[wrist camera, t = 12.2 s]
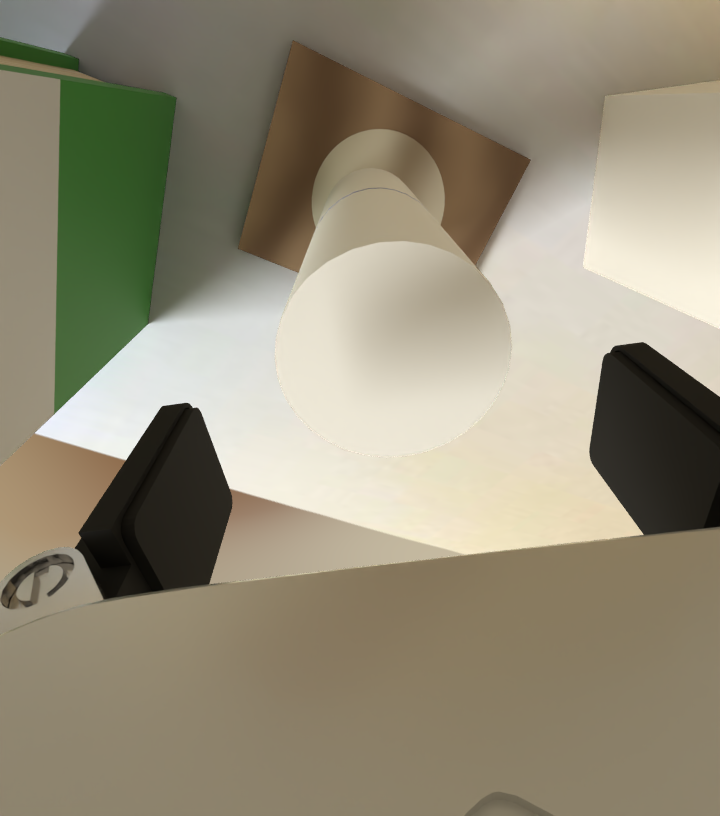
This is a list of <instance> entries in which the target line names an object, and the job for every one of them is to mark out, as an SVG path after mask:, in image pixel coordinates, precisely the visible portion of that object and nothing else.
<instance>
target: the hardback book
mask: <svg viewBox="0 0 720 816" xmlns="http://www.w3.org/2000/svg"><path fill="white" fill-rule="evenodd" d="M78 65H79V59H77V58H75V57H72V56H70V55H67V54H65V53H61V52H57V51H53V50H49V49H45V48H41V47H37V46H33V45H29V44H25V43H21V42H17V41H13V40H9V39H5V38H1V37H0V466H1V465H2V464H3V463H4V462H5V461H6V460H7V459H8V458H9V457H10V456H11V455H12V454H13V453H14V452H15V451H16V450H17V449H18V448H19V447H21V446H22V444H24V443H25V442H26V441H27V440H28V439H29V438H30V437H31V436H32V435H33V434H34V433H35V432H36V431H37V430H38V429H39V428H40V427H41V426H42V425H43V424H44V423H45V422H47V421H48V420H49V419H50V418H51V417H52V416H53V415H54V414H55V413H56V412H57V411H58V410H59V409H60V408H61V407H62V406H63V405H64V404H65V403H66V402H67V401H68V400H69V399H70V398H72V397H73V396H74V395H75V394H76V393H77V392H78V391H79V390H80V389H81V388H82V387H83V386H84V385H85V384H86V383H87V382H88V381H89V380H90V379H91V378H92V377H93V376H94V375H95V374H96V373H98V372H99V371H100V370H101V369H102V368H103V367H104V366H105V365H106V364H107V363H108V362H109V361H110V360H111V359H112V358H113V357H114V356H115V355H116V354H117V353H118V352H119V351H120V350H121V349H122V348H124V347H125V346H126V345H127V344H128V343H129V342H130V341H131V340H132V339H133V338H134V337H135V336H136V335H137V334H138V333H139V332H140V331H141V330H142V329H143V328H144V327H145V326H146V325H147V324H148V319H149V311H150V303H151V295H152V287H153V280H154V272H155V264H156V256H157V248H158V240H159V232H160V224H161V216H162V208H163V200H164V192H165V184H166V177H167V169H168V161H169V153H170V145H171V137H172V129H173V121H174V113H175V105H176V97H173V96H171V95H168V94H166V93H163V92H157V91H152V90H146V89H140V88H135V87H129V86H123V85H118V84H112V83H106V82H103V81H101V80H98V79H96V78H93V77H90V76H88V75H85V74H83V73H80V72H78Z"/></svg>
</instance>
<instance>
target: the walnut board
mask: <svg viewBox="0 0 720 816" xmlns="http://www.w3.org/2000/svg"><path fill="white" fill-rule="evenodd" d="M530 161H531V160H530V159H528V158H526V157H524V156H522V155H520V154H518V153H516V152H514V151H512V150H510V149H508V148H506V147H504V146H502V145H500V144H498V143H496V142H494V141H492V140H490V139H488V138H486V137H484V136H482V135H480V134H478V133H476V132H474V131H472V130H470V129H469V128H467V127H465V126H463V125H461V124H459V123H457V122H455V121H453V120H451V119H449V118H447V117H445V116H443V115H441V114H439V113H437V112H435V111H433V110H431V109H429V108H427V107H425V106H423V105H421V104H419V103H417V102H415V101H413V100H411V99H409V98H407V97H405V96H403V95H401V94H399V93H397V92H395V91H393V90H391V89H389V88H387V87H385V86H383V85H381V84H379V83H377V82H375V81H373V80H371V79H369V78H367V77H365V76H363V75H361V74H359V73H357V72H355V71H353V70H351V69H349V68H347V67H345V66H343V65H341V64H339V63H337V62H335V61H333V60H331V59H329V58H327V57H325V56H323V55H321V54H319V53H317V52H315V51H313V50H311V49H309V48H307V47H305V46H303V45H301V44H299V43H297V42H295V41H293V42H292V46H291V49H290V53H289V57H288V61H287V65H286V68H285V72H284V76H283V80H282V83H281V87H280V91H279V95H278V99H277V102H276V106H275V110H274V114H273V118H272V121H271V125H270V129H269V133H268V136H267V140H266V144H265V148H264V152H263V155H262V159H261V163H260V167H259V171H258V174H257V178H256V182H255V186H254V189H253V193H252V197H251V201H250V205H249V208H248V212H247V216H246V220H245V224H244V227H243V231H242V235H241V239H240V242H239V246H238V249H240V250H243V251H245V252H248V253H250V254H253V255H255V256H258V257H260V258H263V259H265V260H268V261H270V262H273V263H275V264H278V265H280V266H283V267H286V268H288V269H291V270H293V271H296V272H298V273H299V270H300V268H301V265H302V263H303V260H304V257H305V255H306V252H307V250H308V247H309V245H310V242H311V239H312V237H313V234H314V232H315V229H316V226H317V224H318V221H319V219H320V216H321V213H322V211H323V208H324V206H325V203H326V201H327V198H328V196H329V194H330V192H331V190H332V189H333V188H334V187H335V185H336V184H337V183H338V182H339V181H340V180H341V179H342V178H343V177H345V176H346V175H348V174H350V173H352V172H354V171H357V170H360V169H365V168H376V169H382V170H385V171H387V172H390V173H392V174H393V175H395V176H396V177H398V178H399V179H400V180H401V181H402V182H403V183H404V184H405V185H406V186H407V187H408V188H409V189H410V190H411V192H412V193H413V194H414V195H415V196H416V197H417V199H418V200H419V201H420V202H421V203H422V204H423V206H424V207H425V208H426V209H427V210H428V211H429V213H430V214H431V215H432V216H433V217H434V218H435V220H436V221H437V222H438V223H439V224H440V225H441V226H442V228H443V229H444V230H445V231H446V232H447V233H448V235H449V236H450V237H451V238H452V239H453V240H454V242H455V243H456V244H457V245H458V246H459V247H460V249H461V250H462V251H463V252H464V253H465V254H466V256H467V257H468V258H469V259H470V260H471V261H472V263H473V264H474V265H476V263H477V261H478V259H479V257H480V255H481V253H482V252H483V250H484V248H485V246H486V244H487V242H488V240H489V238H490V236H491V235H492V233H493V231H494V229H495V227H496V225H497V223H498V221H499V219H500V217H501V216H502V214H503V212H504V210H505V208H506V206H507V204H508V202H509V200H510V199H511V197H512V195H513V193H514V191H515V189H516V187H517V185H518V183H519V181H520V180H521V178H522V176H523V174H524V172H525V170H526V168H527V166H528V164H529V163H530Z"/></svg>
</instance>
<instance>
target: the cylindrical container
mask: <svg viewBox="0 0 720 816" xmlns="http://www.w3.org/2000/svg"><path fill="white" fill-rule="evenodd" d="M511 351H512V343H511V331H510V324H509V321H508V318H507V315H506V312H505V309H504V306H503V303H502V301H501V300H500V298H499V297H498V295H497V293H496V292H495V290H494V289H493V287H492V285H491V284H490V282H489V281H488V280H487V279H486V278H485V277H484V275H483V274H482V273H481V272H480V271H479V270H478V268H477V267H476V266H475V265H474V264H473V263H472V261H471V260H470V259H469V258H468V257H467V256H466V254H465V253H464V252H463V251H462V250H461V249H460V247H459V246H458V245H457V244H456V243H455V242H454V240H453V239H452V238H451V237H450V236H449V235H448V233H447V232H446V231H445V230H444V229H443V228H442V226H441V225H440V224H439V223H438V222H437V221H436V220H435V218H434V217H433V216H432V215H431V214H430V213H429V211H428V210H427V209H426V208H425V207H424V206H423V204H422V203H421V202H420V201H419V200H418V199H417V197H416V196H415V195H414V194H413V193H412V192H411V190H410V189H409V188H408V187H407V186H406V185H405V184H404V183H403V182H402V181H401V180H400V179H399V178H398V177H396V176H395V175H393V174H392V173H390V172H387V171H385V170H382V169H376V168H365V169H360V170H357V171H354V172H352V173H350V174H348V175H346V176H345V177H343V178H342V179H341V180H340V181H339V182H338V183H337V184H336V185H335V187H334V188H333V189H332V190H331V192H330V194H329V196H328V198H327V201H326V203H325V206H324V208H323V211H322V213H321V216H320V219H319V221H318V224H317V226H316V229H315V232H314V234H313V237H312V239H311V242H310V245H309V247H308V250H307V252H306V255H305V257H304V260H303V263H302V265H301V268H300V270H299V273H298V276H297V278H296V281H295V283H294V286H293V289H292V291H291V294H290V296H289V299H288V301H287V304H286V307H285V309H284V312H283V314H282V317H281V320H280V324H279V328H278V332H277V336H276V343H275V364H276V370H277V377H278V380H279V383H280V386H281V388H282V391H283V394H284V396H285V399H286V400H287V402H288V403H289V405H290V406H291V408H292V409H293V411H294V412H295V414H296V415H297V417H298V418H299V419H300V420H301V421H302V422H303V423H304V424H305V425H306V426H307V427H308V428H309V429H310V430H311V431H313V432H314V433H316V434H317V435H318V436H320V437H321V438H323V439H324V440H326V441H327V442H329V443H331V444H333V445H336V446H338V447H340V448H342V449H344V450H347V451H350V452H354V453H358V454H362V455H366V456H375V457H404V456H409V455H414V454H419V453H424V452H427V451H430V450H432V449H435V448H438V447H440V446H443V445H445V444H447V443H449V442H450V441H452V440H454V439H456V438H457V437H459V436H461V435H462V434H464V433H465V432H466V431H467V430H469V429H470V428H471V427H472V426H473V425H475V424H476V423H477V422H478V421H479V420H480V419H481V418H482V417H483V416H484V414H485V413H486V412H487V411H488V410H489V408H490V407H491V406H492V405H493V403H494V402H495V400H496V398H497V396H498V394H499V393H500V391H501V389H502V387H503V385H504V382H505V379H506V376H507V373H508V370H509V365H510V358H511Z"/></svg>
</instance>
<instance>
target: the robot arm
mask: <svg viewBox="0 0 720 816" xmlns="http://www.w3.org/2000/svg"><path fill="white" fill-rule="evenodd" d="M589 452H590V459H591V461H592V464H593V465H594V467H595V468H596V470H597V471H598V472H599V474H600V475H601V476H602V478H603V479H604V481H605V482H606V483H607V485H608V486H609V487H610V489H611V490H612V492H613V493H614V494H615V496H616V497H617V498H618V500H619V501H620V503H621V504H622V505H623V507H624V508H625V509H626V511H627V512H628V513H629V515H630V516H631V518H632V519H633V520H634V522H635V523H636V524H637V526H638V527H639V529H640V530H641V531H642V533H643V534H644V535H640V536H630V537H621V538H612V539H603V540H593V541H584V542H575V543H566V544H557V545H548V546H539V547H530V548H521V549H512V550H504V551H495V552H486V553H477V554H468V555H459V556H450V557H441V558H432V559H425V560H415V561H406V562H397V563H389V564H380V565H371V566H362V567H354V568H345V569H336V570H327V571H318V572H310V573H301V574H293V575H284V576H276V577H268V578H259V579H251V580H242V581H233V582H225V583H218V584H209V583H210V579H211V576H212V573H213V569H214V566H215V563H216V559H217V556H218V553H219V549H220V546H221V543H222V539H223V536H224V533H225V529H226V526H227V523H228V519H229V516H230V513H231V509H232V495H231V492H230V489H229V487H228V484H227V481H226V478H225V476H224V473H223V470H222V468H221V465H220V462H219V460H218V457H217V454H216V452H215V449H214V446H213V443H212V441H211V438H210V435H209V433H208V430H207V427H206V425H205V422H204V419H203V417H202V414H201V412H200V410H199V409H198V408H192V406H191V405H190V404H189V403H182V404H174V405H167V406H162V407H161V408H160V410H159V411H158V413H157V414H156V416H155V417H154V419H153V420H152V422H151V423H150V425H149V426H148V428H147V430H146V431H145V433H144V434H143V436H142V437H141V439H140V440H139V442H138V443H137V445H136V446H135V448H134V449H133V451H132V452H131V454H130V455H129V457H128V458H127V460H126V461H125V463H124V464H123V466H122V468H121V469H120V470H119V472H118V473H117V475H116V477H115V478H114V480H113V481H112V483H111V484H110V486H109V487H108V489H107V490H106V492H105V493H104V495H103V496H102V498H101V499H100V501H99V502H98V504H97V506H96V507H95V508H94V510H93V511H92V513H91V515H90V516H89V518H88V519H87V521H86V522H85V524H84V525H83V527H82V528H81V530H80V531H79V535H80V536H81V540H80V541H79V543H78V544H77V546H76V547H75V549H73V548H70V547H64V548H55V549H52V550H48V551H44V552H42V553H40V554H38V555H36V556H33V557H31V558H30V559H28V560H26V561H25V562H23V563H22V564H20V565H19V566H17V567H16V568H15V569H14V570H12V571H11V572H10V573H9V574H8V575H7V576H6V577H5V578H4V579H3V580H2V581H1V582H0V816H720V397H719V396H718V395H716V394H715V393H714V392H712V391H711V390H709V389H708V388H707V387H705V386H704V385H703V384H701V383H700V382H698V381H697V380H696V379H694V378H693V377H691V376H690V375H689V374H687V373H686V372H685V371H683V370H682V369H680V368H679V367H678V366H676V365H675V364H674V363H672V362H671V361H669V360H668V359H667V358H665V357H664V356H663V355H661V354H660V353H658V352H657V351H656V350H654V349H653V348H651V347H650V346H649V345H647V344H646V343H643V342H641V343H633V344H626V345H618V346H615V347H613V348H612V350H611V352H610V353H607V354H606V355H605V356H604V358H603V362H602V369H601V376H600V382H599V389H598V396H597V402H596V409H595V416H594V422H593V429H592V436H591V442H590V451H589Z"/></svg>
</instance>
